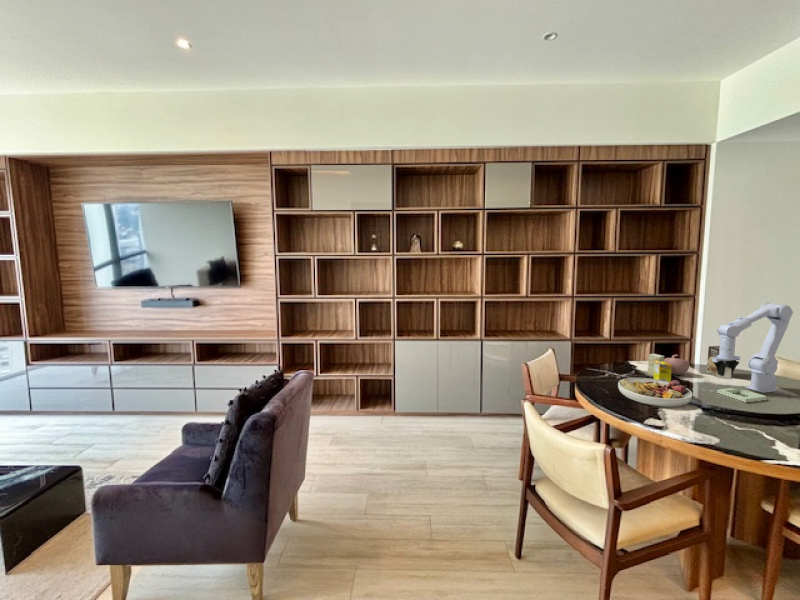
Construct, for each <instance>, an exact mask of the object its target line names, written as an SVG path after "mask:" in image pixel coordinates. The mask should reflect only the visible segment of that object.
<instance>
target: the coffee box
mask: <svg viewBox="0 0 800 600" xmlns="http://www.w3.org/2000/svg"><path fill="white" fill-rule="evenodd" d="M719 349H720V345H716V346H715V345H713V346H712V345H710V346H708V351H707V362H706V363H707V364H706V374H709V375H712V376H714V377H717V378H718V379H721V378H720V377H719V375H718V371H717V368H716V366H715V364H714V363H713V362H712V358H715V357H717V355H719ZM724 363H725V361H724Z"/></svg>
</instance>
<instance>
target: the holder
mask: <svg viewBox="0 0 800 600" xmlns="http://www.w3.org/2000/svg"><path fill="white" fill-rule="evenodd" d="M738 392H739V393H738ZM717 393H720V394H723V395H726V396H729V397H732V398H735V399H738V400H741V401H744V402H750V401H758V402H762V401H761V400H766V401H767V398H768V396H767V395H763V394H761V393H756V392H754V391H752V390H751V391H750V390H747V389H746V388H745V389H744V388H742V387H737V386H736V387H729V388H721V389H716V394H717ZM733 393H734V394H733ZM740 393H742V394H741V395H739V394H740ZM720 394H719V395H720ZM743 394H745V395H744V396H742V395H743ZM746 395H748V396H746Z"/></svg>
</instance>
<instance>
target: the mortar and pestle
mask: <svg viewBox="0 0 800 600" xmlns="http://www.w3.org/2000/svg"><path fill="white" fill-rule="evenodd" d="M676 357H679V355H678V354H673V355H671V357H666V358H665V357H664V362H668V363H669V364H671V365H672V366H671V375H672V374H673V375H677V376H679V375H683V374H686V373H687V372H688V370H689V369H690V361H688V360H685V359H683V358H676Z"/></svg>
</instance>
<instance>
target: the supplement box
mask: <svg viewBox="0 0 800 600" xmlns="http://www.w3.org/2000/svg"><path fill="white" fill-rule="evenodd" d="M671 366H672V365H671V364H669V363H668V362H660V361H655V362H654V376H653V379H656V380H662V381H667V382H671V381H672V373H671Z"/></svg>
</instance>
